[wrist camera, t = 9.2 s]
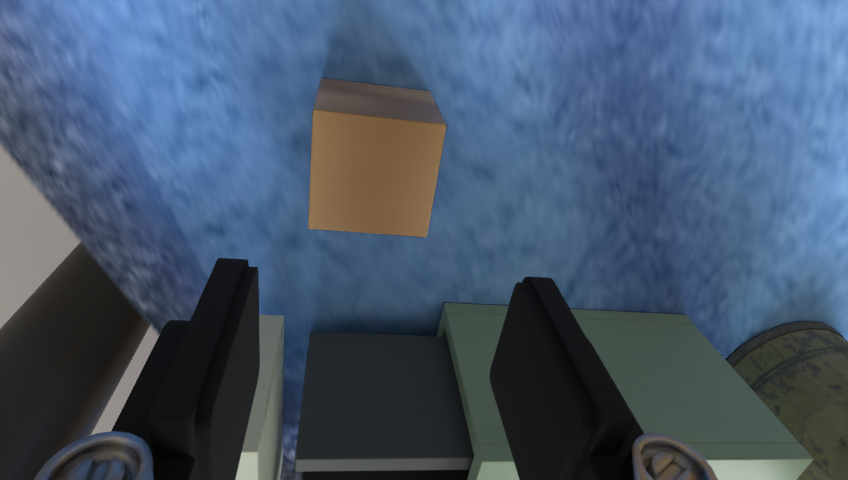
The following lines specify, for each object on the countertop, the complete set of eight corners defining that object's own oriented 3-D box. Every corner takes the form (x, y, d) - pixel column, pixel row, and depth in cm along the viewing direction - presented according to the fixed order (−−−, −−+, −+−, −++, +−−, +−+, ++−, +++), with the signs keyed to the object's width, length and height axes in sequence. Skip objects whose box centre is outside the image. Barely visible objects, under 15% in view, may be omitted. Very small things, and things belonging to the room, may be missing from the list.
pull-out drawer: (175, 462, 29) (122, 614, 23) (152, 309, 24) (72, 452, 17) (476, 459, 32) (507, 593, 26) (519, 325, 27) (572, 450, 20)
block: (316, 179, 22) (307, 229, 18) (320, 77, 20) (312, 109, 16) (415, 188, 23) (427, 237, 19) (430, 91, 21) (447, 124, 17)
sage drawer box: (411, 454, 33) (429, 623, 25) (443, 302, 27) (481, 461, 18) (613, 452, 35) (691, 606, 27) (686, 314, 29) (814, 459, 21)
